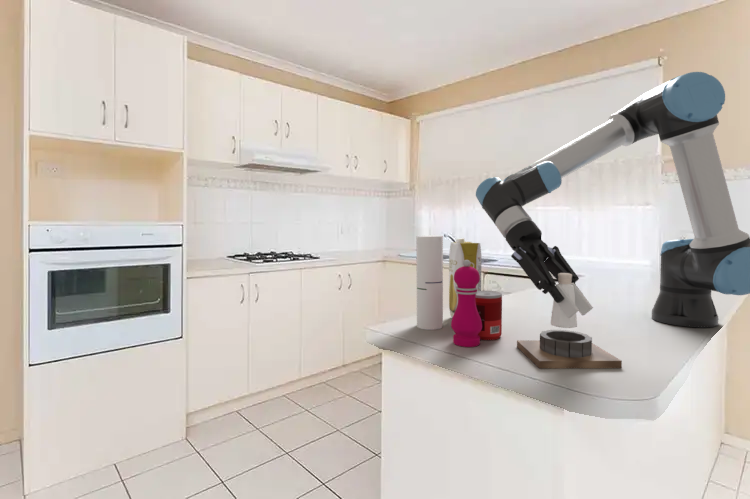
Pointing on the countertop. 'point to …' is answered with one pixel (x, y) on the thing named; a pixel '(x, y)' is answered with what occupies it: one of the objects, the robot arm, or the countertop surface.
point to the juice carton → (456, 258)
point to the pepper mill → (466, 307)
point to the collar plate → (565, 361)
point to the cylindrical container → (429, 282)
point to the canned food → (489, 314)
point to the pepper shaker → (557, 313)
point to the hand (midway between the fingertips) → (580, 312)
